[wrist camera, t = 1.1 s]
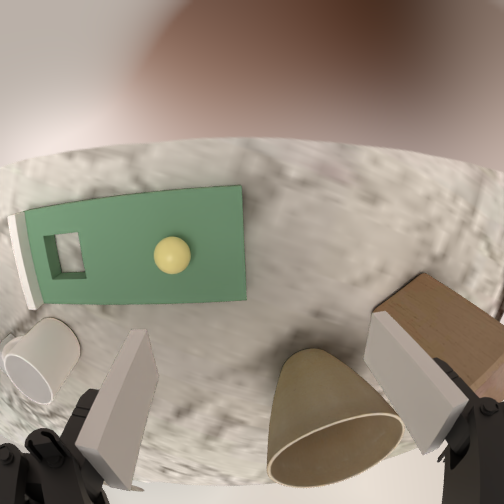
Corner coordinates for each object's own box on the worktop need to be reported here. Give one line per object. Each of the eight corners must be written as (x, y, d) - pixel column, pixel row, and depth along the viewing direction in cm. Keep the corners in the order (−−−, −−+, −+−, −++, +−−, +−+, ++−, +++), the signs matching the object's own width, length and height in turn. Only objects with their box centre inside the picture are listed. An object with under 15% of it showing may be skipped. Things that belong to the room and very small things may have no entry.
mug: (29, 349, 33) (-2, 385, 23) (18, 305, 31) (-20, 338, 21) (86, 367, 35) (60, 412, 25) (77, 321, 32) (42, 365, 23)
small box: (6, 349, 33) (-7, 363, 29) (10, 331, 32) (-5, 345, 28) (28, 369, 35) (16, 385, 30) (33, 353, 34) (20, 369, 29)
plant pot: (239, 345, 35) (247, 446, 20) (349, 309, 35) (410, 389, 19) (269, 414, 39) (284, 498, 24) (358, 384, 39) (399, 458, 24)
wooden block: (388, 353, 38) (456, 444, 19) (368, 310, 35) (454, 411, 16) (436, 316, 37) (517, 387, 18) (423, 268, 34) (526, 337, 15)
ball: (160, 267, 29) (152, 280, 25) (156, 234, 28) (147, 243, 24) (194, 266, 29) (189, 279, 25) (191, 231, 28) (185, 240, 24)
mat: (45, 295, 31) (28, 309, 27) (28, 209, 28) (7, 216, 23) (245, 290, 33) (247, 308, 28) (240, 185, 29) (242, 187, 25)
